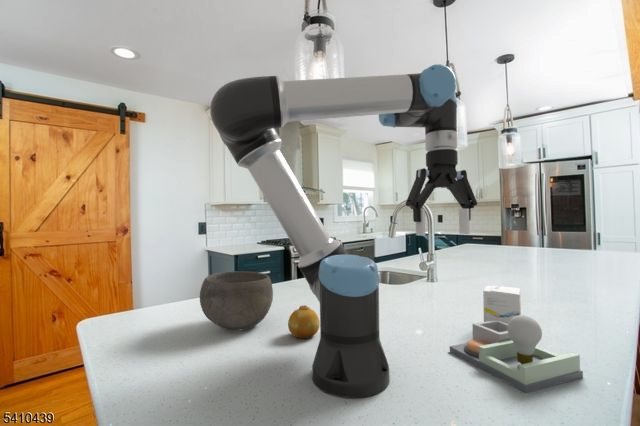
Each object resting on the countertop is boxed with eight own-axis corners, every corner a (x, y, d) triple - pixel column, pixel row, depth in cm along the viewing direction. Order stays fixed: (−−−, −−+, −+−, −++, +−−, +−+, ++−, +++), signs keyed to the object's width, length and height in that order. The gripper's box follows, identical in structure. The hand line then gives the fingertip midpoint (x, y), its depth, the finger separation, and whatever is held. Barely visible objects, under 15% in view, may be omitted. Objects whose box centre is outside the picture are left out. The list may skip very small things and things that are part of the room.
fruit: (308, 318, 94) (299, 298, 91) (329, 327, 88) (319, 305, 85) (289, 339, 89) (278, 318, 86) (309, 350, 83) (298, 328, 80)
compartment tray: (526, 392, 57) (525, 361, 57) (449, 351, 75) (449, 327, 75) (582, 377, 62) (582, 348, 62) (498, 341, 80) (498, 319, 80)
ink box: (521, 341, 81) (520, 293, 81) (483, 334, 85) (482, 290, 85) (521, 330, 88) (520, 287, 88) (486, 325, 93) (485, 284, 93)
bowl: (287, 324, 96) (286, 273, 96) (224, 345, 81) (224, 285, 81) (247, 311, 110) (246, 267, 111) (187, 327, 95) (186, 276, 95)
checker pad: (480, 356, 69) (480, 350, 69) (462, 347, 74) (462, 341, 74) (499, 352, 70) (498, 346, 70) (479, 343, 75) (479, 338, 75)
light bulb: (515, 371, 63) (513, 319, 63) (503, 358, 68) (502, 311, 69) (549, 373, 62) (547, 320, 62) (534, 360, 67) (533, 311, 68)
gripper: (408, 144, 74) (410, 237, 74) (491, 150, 83) (493, 233, 83) (390, 151, 82) (392, 235, 81) (468, 155, 90) (470, 232, 90)
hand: (443, 234), depth 82 cm, fingers open, 13 cm apart
